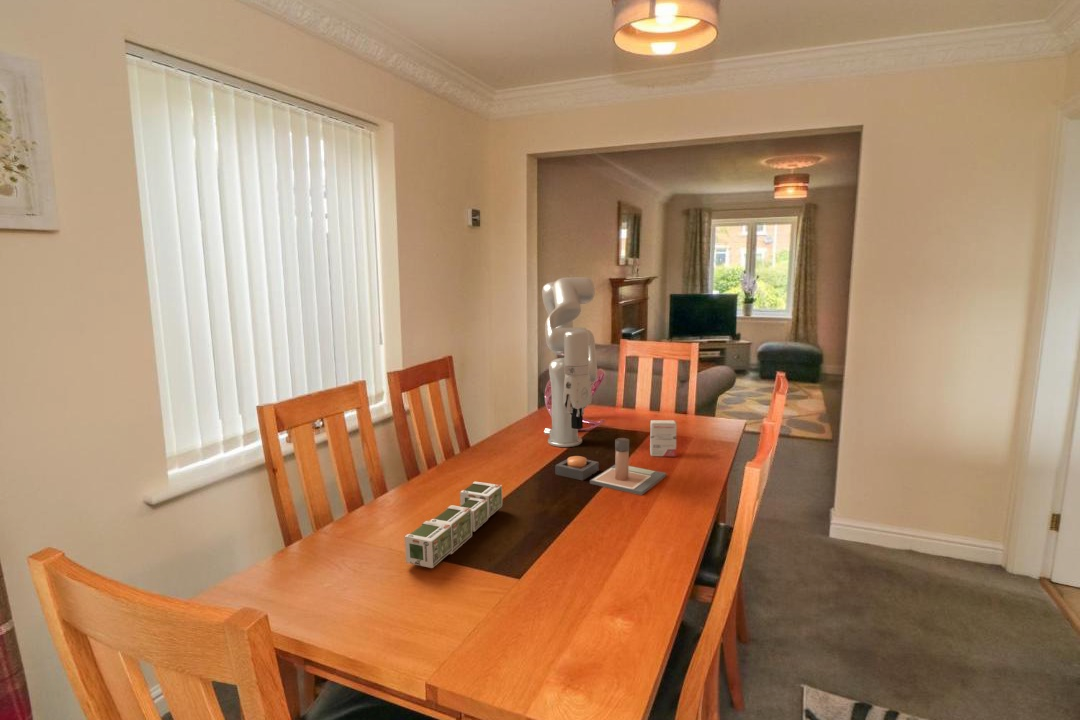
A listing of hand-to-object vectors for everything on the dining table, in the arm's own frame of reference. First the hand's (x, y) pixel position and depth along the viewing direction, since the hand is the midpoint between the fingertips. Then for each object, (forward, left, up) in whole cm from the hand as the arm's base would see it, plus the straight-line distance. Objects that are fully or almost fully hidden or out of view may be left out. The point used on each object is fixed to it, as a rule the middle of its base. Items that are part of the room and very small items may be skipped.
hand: (577, 428), depth 185 cm
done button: (0, 0, -13) cm, 13 cm away
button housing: (0, 0, -15) cm, 15 cm away
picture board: (+16, +3, -15) cm, 22 cm away
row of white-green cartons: (-3, -53, -15) cm, 55 cm away
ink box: (+16, +31, -15) cm, 38 cm away
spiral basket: (-28, +46, -15) cm, 56 cm away
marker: (+15, +1, -14) cm, 20 cm away
